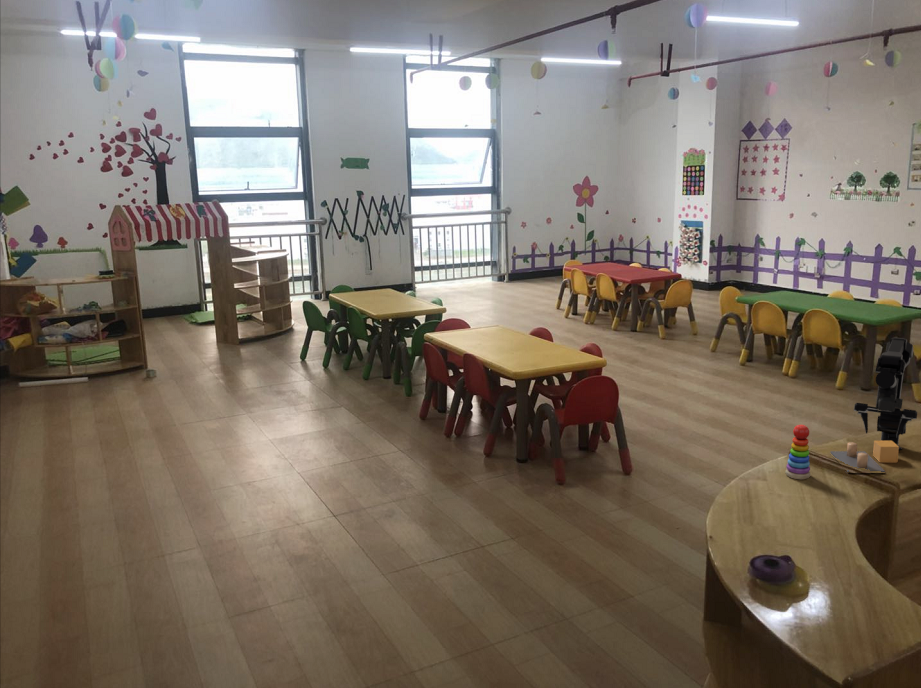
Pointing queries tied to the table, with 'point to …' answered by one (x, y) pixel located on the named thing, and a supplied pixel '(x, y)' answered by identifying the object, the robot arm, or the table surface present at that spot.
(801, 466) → the stacking toy
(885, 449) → the natural wood cube
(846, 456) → the plate
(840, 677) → the table surface
